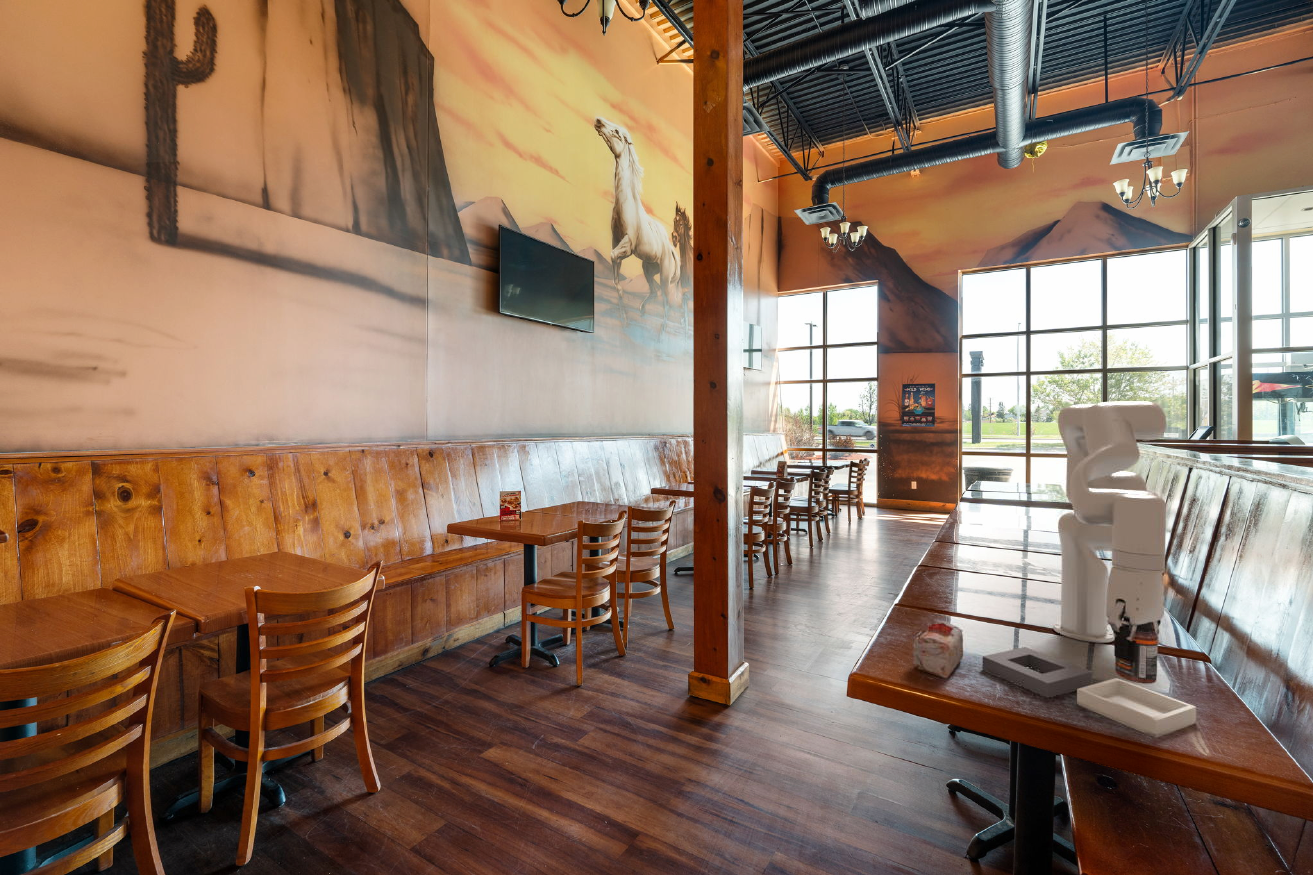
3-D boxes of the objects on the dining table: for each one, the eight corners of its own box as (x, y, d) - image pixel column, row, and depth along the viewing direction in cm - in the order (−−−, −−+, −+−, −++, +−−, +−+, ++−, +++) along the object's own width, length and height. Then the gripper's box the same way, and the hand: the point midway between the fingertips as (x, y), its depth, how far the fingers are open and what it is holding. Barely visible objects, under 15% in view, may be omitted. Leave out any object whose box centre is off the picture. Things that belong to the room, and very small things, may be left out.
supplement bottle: (1106, 671, 107) (1107, 612, 107) (1135, 670, 108) (1136, 612, 108) (1135, 685, 101) (1137, 623, 101) (1165, 684, 102) (1167, 622, 102)
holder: (1024, 659, 129) (1025, 646, 129) (1092, 685, 116) (1092, 671, 116) (982, 669, 123) (982, 656, 123) (1048, 698, 111) (1048, 683, 110)
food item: (950, 683, 117) (951, 636, 117) (910, 672, 122) (911, 627, 122) (965, 662, 128) (966, 619, 127) (928, 653, 133) (928, 611, 133)
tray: (1116, 692, 113) (1116, 677, 113) (1196, 723, 101) (1196, 706, 101) (1076, 704, 108) (1077, 688, 108) (1155, 737, 97) (1156, 720, 96)
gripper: (1141, 552, 111) (1139, 643, 111) (1086, 560, 104) (1084, 656, 105) (1188, 561, 104) (1186, 657, 104) (1133, 569, 97) (1131, 672, 98)
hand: (1135, 656), depth 105 cm, fingers closed on supplement bottle, 6 cm apart
